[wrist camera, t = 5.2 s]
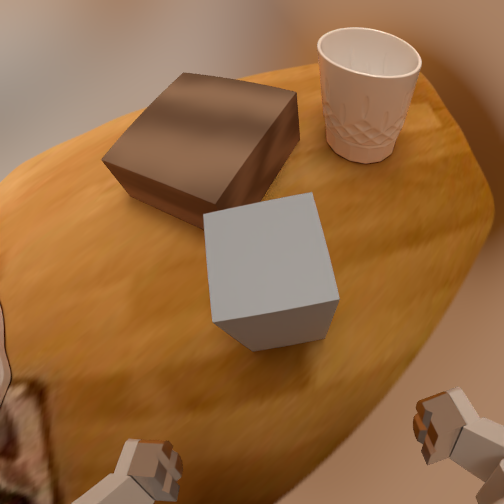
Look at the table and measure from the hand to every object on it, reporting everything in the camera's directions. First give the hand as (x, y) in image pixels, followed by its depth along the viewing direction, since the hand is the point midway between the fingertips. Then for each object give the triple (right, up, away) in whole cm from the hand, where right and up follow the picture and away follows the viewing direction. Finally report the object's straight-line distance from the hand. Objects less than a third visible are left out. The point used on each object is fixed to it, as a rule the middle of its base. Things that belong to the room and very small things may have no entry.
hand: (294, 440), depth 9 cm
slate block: (+1, +2, +13) cm, 14 cm away
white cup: (+9, +17, +19) cm, 27 cm away
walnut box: (-5, +14, +20) cm, 25 cm away
